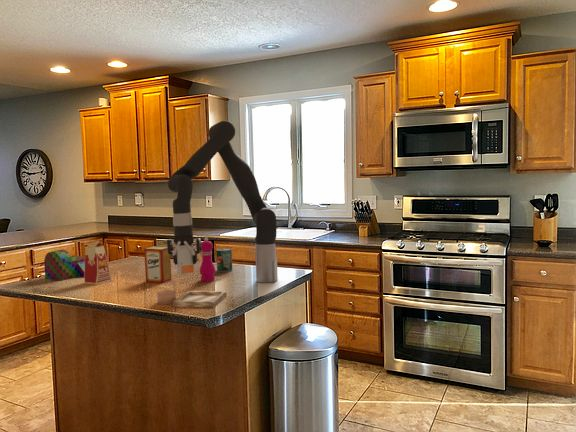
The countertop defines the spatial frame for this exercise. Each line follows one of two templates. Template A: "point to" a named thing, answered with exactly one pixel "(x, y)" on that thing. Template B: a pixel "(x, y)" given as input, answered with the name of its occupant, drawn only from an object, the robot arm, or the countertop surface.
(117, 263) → the countertop surface
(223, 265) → the canned tomato
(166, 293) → the tan rounded blob
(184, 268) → the skincare box
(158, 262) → the baking soda box
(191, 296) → the maple tray
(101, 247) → the milk carton
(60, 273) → the rainbow checkered teapot
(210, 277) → the pepper mill
